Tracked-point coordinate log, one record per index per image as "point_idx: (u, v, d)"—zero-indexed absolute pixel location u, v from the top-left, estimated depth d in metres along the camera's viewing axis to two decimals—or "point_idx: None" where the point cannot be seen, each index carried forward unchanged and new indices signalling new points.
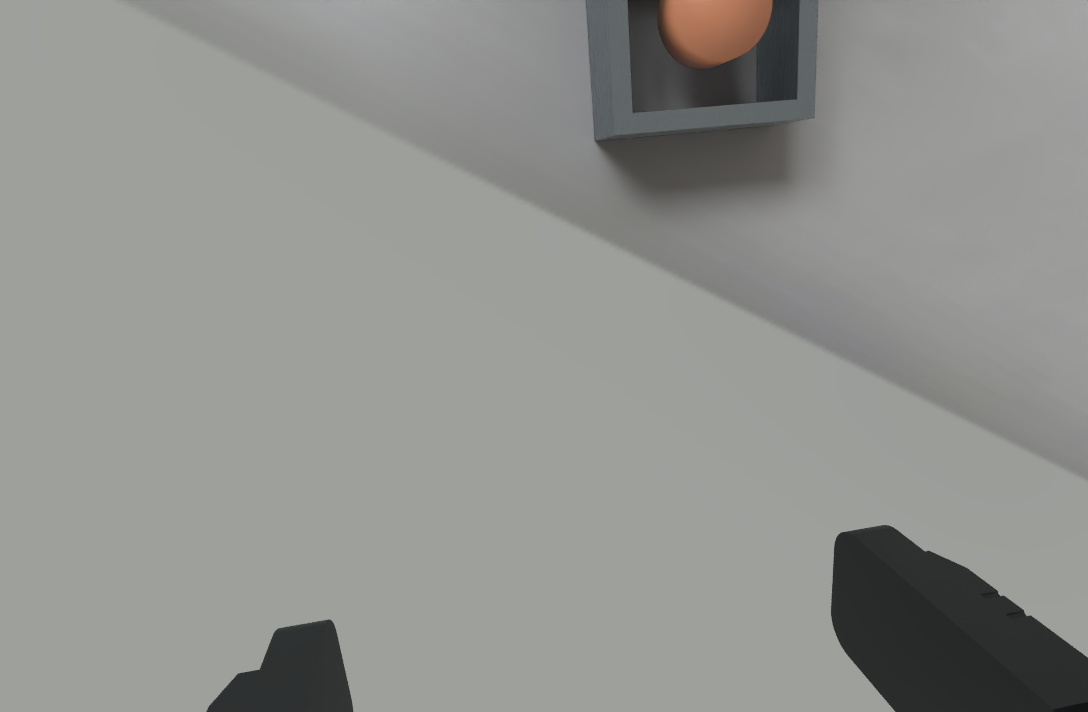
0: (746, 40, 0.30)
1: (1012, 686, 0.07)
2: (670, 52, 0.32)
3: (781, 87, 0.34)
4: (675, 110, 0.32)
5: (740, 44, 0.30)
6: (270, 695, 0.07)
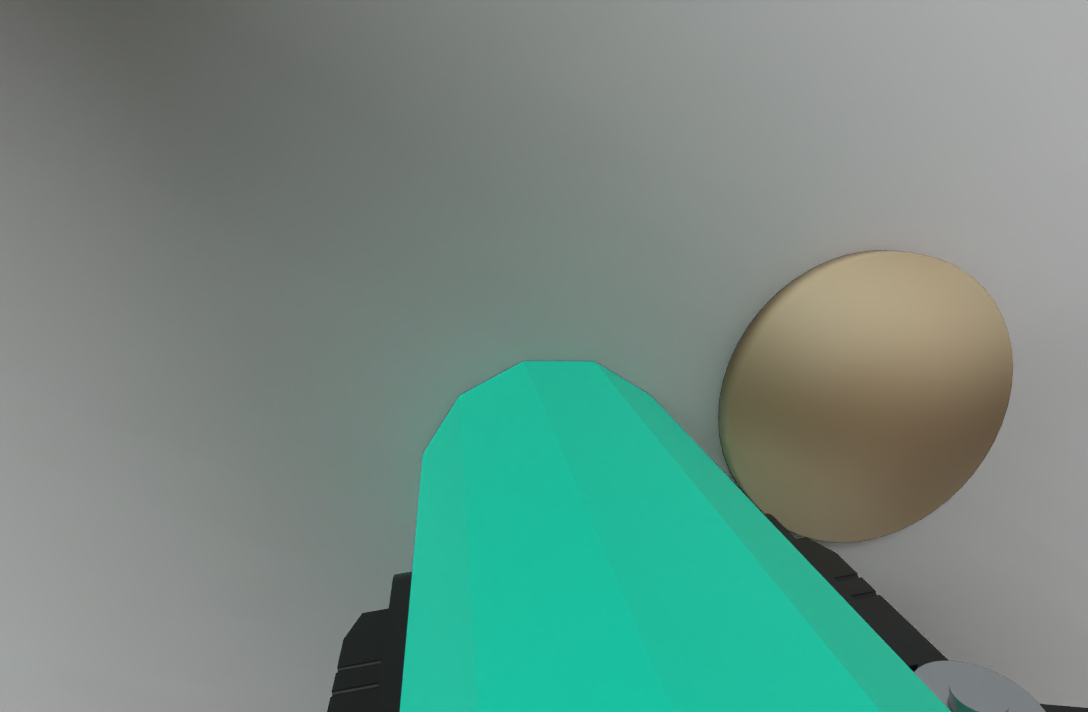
0: None
1: None
2: None
3: None
4: None
5: None
6: (404, 625, 0.08)
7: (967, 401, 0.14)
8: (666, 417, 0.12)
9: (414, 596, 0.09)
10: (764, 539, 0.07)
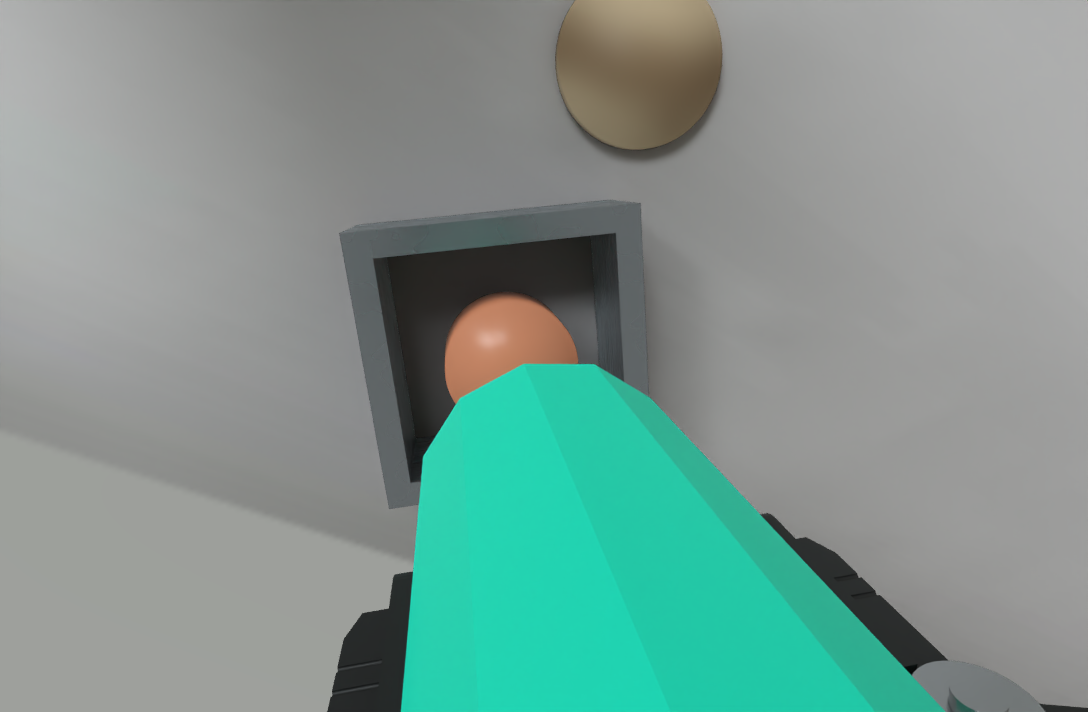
0: None
1: None
2: None
3: None
4: None
5: None
6: (405, 625, 0.08)
7: (696, 61, 0.26)
8: (666, 420, 0.12)
9: (415, 599, 0.09)
10: (764, 543, 0.07)
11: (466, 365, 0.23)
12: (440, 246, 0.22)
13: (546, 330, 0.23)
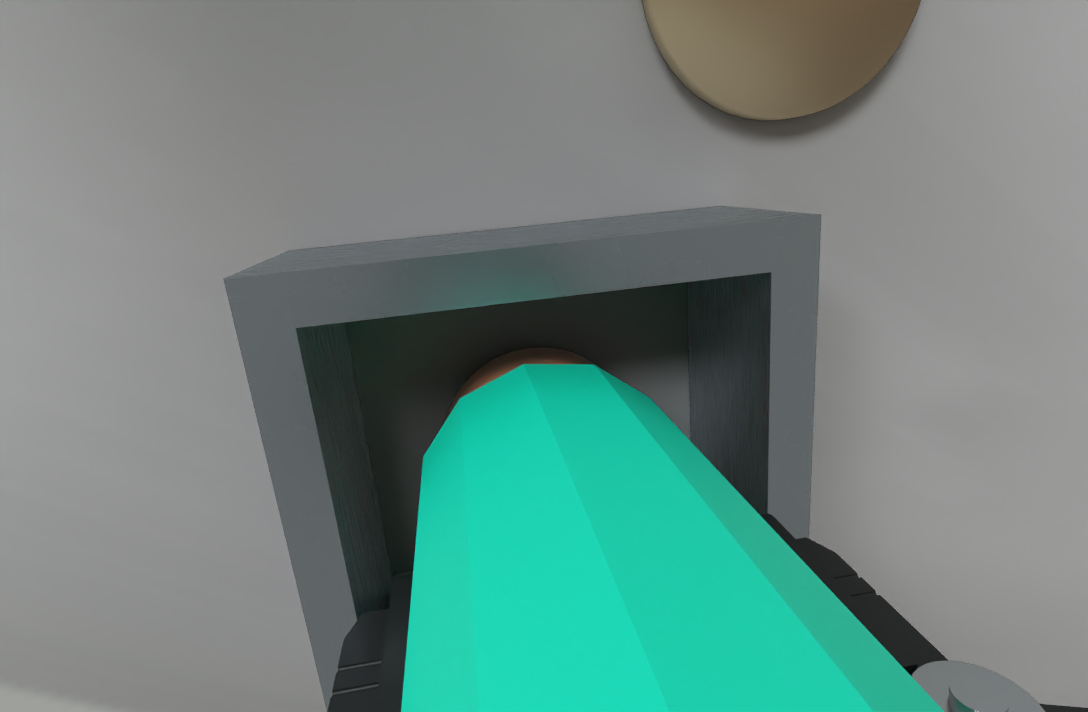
0: None
1: None
2: None
3: None
4: None
5: None
6: (404, 625, 0.08)
7: None
8: (666, 420, 0.12)
9: (415, 600, 0.09)
10: (763, 544, 0.07)
11: None
12: (432, 302, 0.11)
13: None
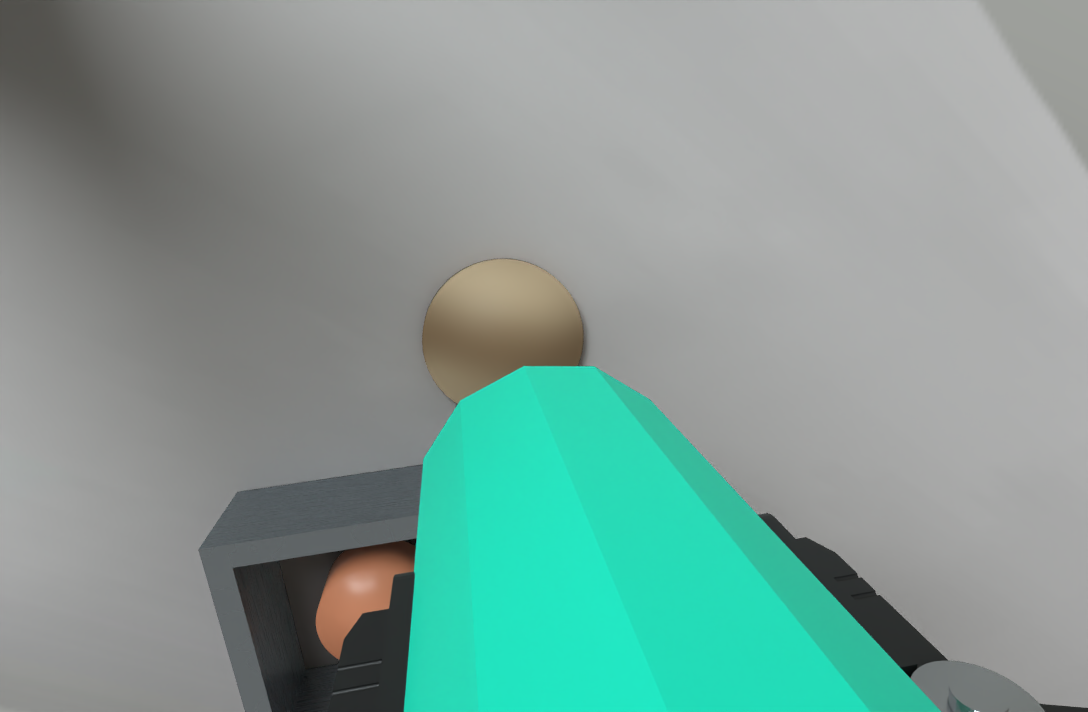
0: None
1: None
2: None
3: None
4: None
5: None
6: (404, 625, 0.08)
7: (558, 339, 0.27)
8: (666, 422, 0.12)
9: (415, 602, 0.09)
10: (763, 546, 0.07)
11: (335, 620, 0.26)
12: (297, 552, 0.24)
13: None
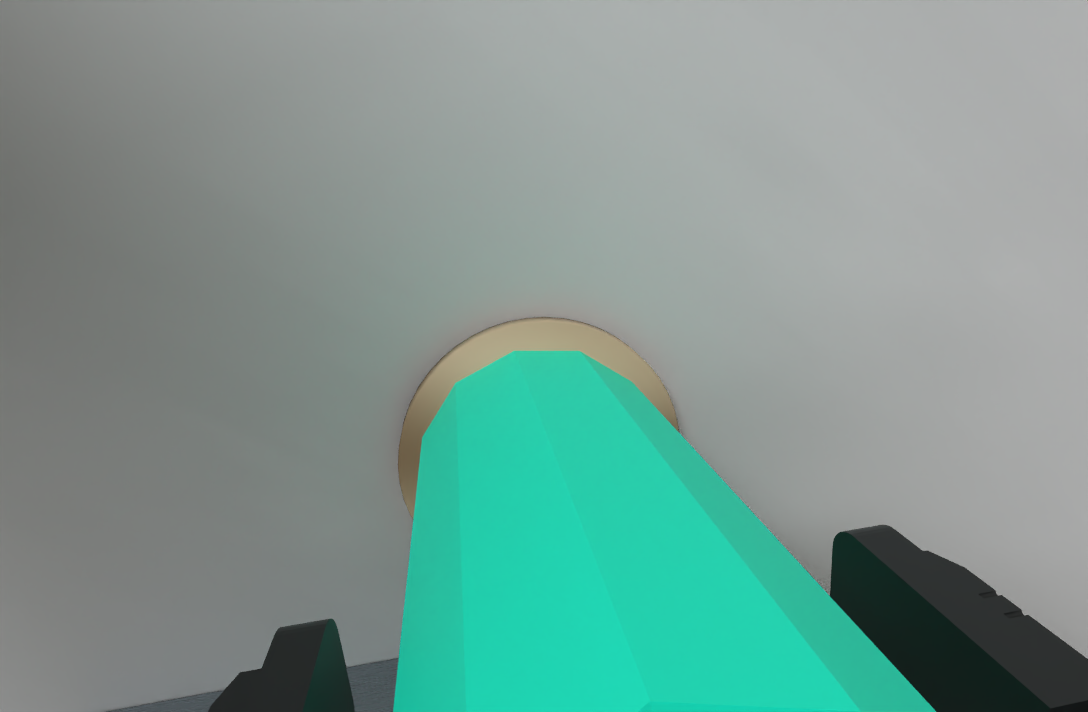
0: None
1: (1007, 685, 0.07)
2: None
3: None
4: None
5: None
6: (272, 694, 0.07)
7: None
8: (644, 400, 0.13)
9: (413, 554, 0.10)
10: (716, 496, 0.09)
11: None
12: None
13: None
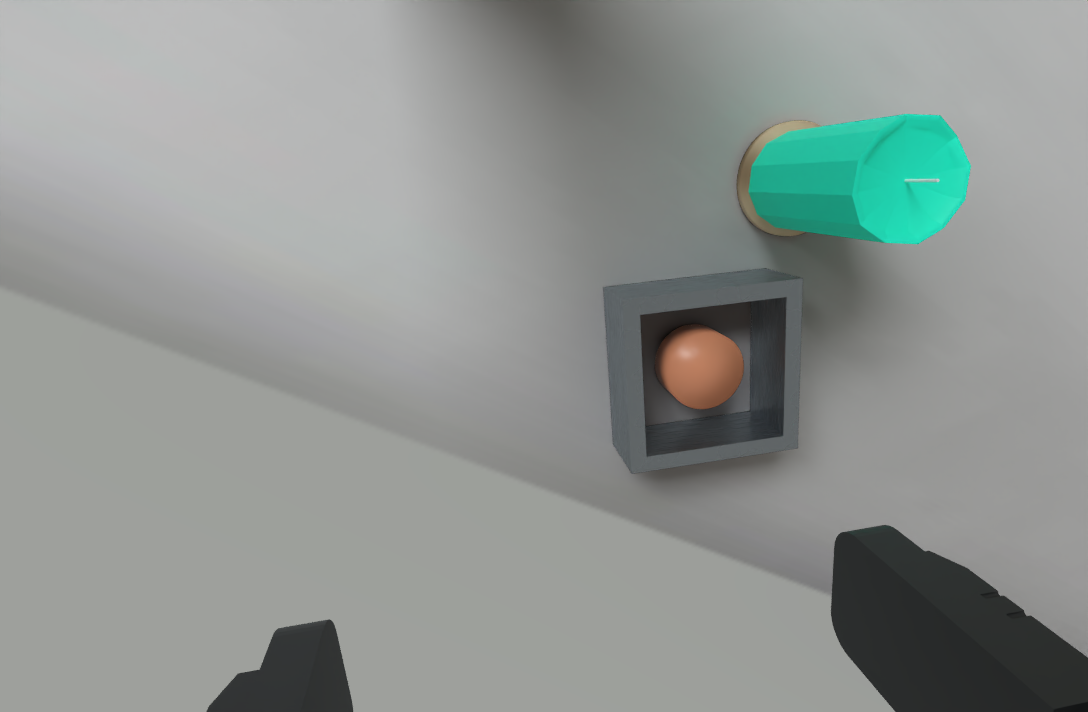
0: (723, 394, 0.39)
1: (1011, 686, 0.07)
2: None
3: (770, 415, 0.40)
4: (682, 452, 0.38)
5: (719, 397, 0.39)
6: (270, 695, 0.07)
7: None
8: None
9: (796, 161, 0.33)
10: None
11: (680, 369, 0.38)
12: (680, 306, 0.36)
13: (726, 348, 0.38)
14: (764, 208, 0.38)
